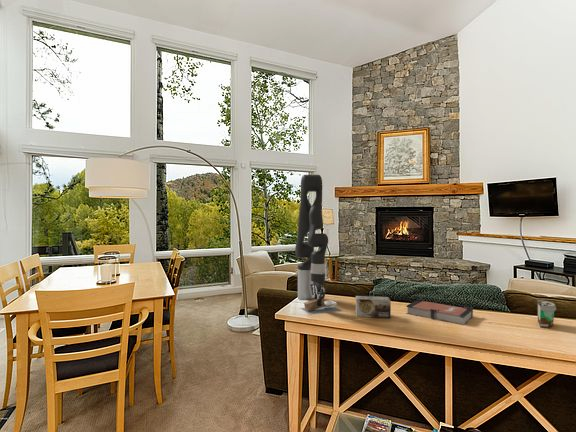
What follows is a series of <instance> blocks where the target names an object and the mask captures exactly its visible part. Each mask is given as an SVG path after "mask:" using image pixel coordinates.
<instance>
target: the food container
mask: <svg viewBox="0 0 576 432" xmlns="http://www.w3.org/2000/svg"><path fill="white" fill-rule="evenodd" d="M556 311H557V306H556V304H555V303H553V302H551V301H546V300H541V299H537V324H538V325H539V328H541V329H542V328H543V329H553V328H552V327H554V320H555V318H554V317H555V312H556Z"/></svg>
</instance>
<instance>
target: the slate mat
mask: <svg viewBox="0 0 576 432" xmlns="http://www.w3.org/2000/svg"><path fill="white" fill-rule="evenodd" d="M300 310H302V311H304V312H305V313H306V314H308V315H311V316H312V315H317V314H318V315H319V314H326V313H327V314H328V313H333V312H334V313H335V312H341V311H342V309H339V308H337V306H335V305H334V306H330V307H322V308H318V309H315V310H312V311H308V312H307V311H306V310H305V307H300Z"/></svg>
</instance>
